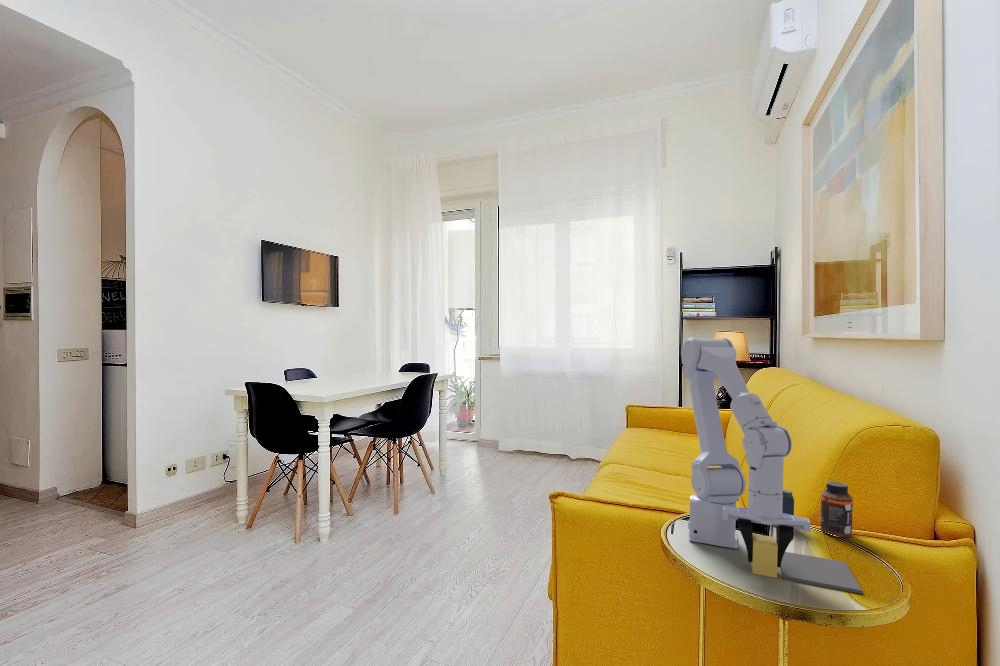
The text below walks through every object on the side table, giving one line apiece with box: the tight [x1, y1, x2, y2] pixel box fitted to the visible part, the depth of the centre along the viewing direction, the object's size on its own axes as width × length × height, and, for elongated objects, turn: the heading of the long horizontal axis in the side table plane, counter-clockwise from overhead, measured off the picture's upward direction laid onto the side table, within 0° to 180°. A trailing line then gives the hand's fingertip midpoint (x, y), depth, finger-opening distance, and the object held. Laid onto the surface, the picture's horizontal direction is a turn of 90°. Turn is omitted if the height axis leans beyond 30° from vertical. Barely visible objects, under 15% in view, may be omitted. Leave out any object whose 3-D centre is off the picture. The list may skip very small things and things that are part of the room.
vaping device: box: [782, 489, 795, 516], centre depth 117 cm, size 3×5×12 cm, turn 67°
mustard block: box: [750, 533, 778, 579], centre depth 94 cm, size 4×4×6 cm
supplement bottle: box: [820, 481, 854, 539], centre depth 113 cm, size 6×6×11 cm
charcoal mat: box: [779, 551, 863, 595], centre depth 94 cm, size 12×12×1 cm
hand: (763, 562), depth 94 cm, fingers closed on mustard block, 4 cm apart
